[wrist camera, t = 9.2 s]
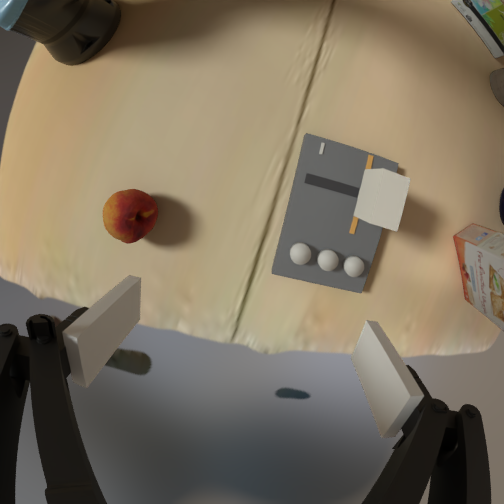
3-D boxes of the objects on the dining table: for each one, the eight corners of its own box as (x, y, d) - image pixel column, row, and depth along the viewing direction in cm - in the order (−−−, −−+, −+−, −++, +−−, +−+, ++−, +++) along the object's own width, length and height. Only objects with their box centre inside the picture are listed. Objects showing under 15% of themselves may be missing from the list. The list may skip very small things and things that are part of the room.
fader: (356, 169, 35) (383, 168, 26) (378, 177, 35) (410, 178, 26) (345, 211, 37) (369, 223, 28) (368, 218, 37) (397, 231, 28)
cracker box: (450, 236, 39) (536, 276, 19) (472, 222, 38) (557, 252, 18) (463, 301, 42) (529, 357, 22) (483, 286, 41) (551, 333, 21)
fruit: (153, 245, 42) (131, 260, 34) (112, 224, 42) (84, 235, 34) (171, 198, 40) (150, 204, 32) (127, 179, 40) (100, 180, 32)
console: (304, 135, 37) (307, 131, 33) (392, 163, 37) (402, 163, 34) (271, 269, 42) (271, 277, 39) (357, 288, 42) (364, 297, 39)
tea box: (448, 2, 26) (484, -27, 12) (466, -6, 24) (499, -30, 10) (494, 60, 29) (539, 44, 14) (508, 47, 26) (547, 33, 12)
